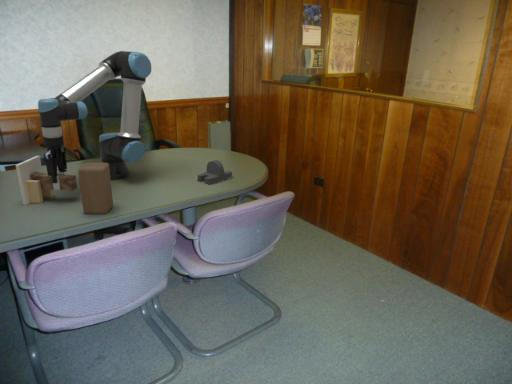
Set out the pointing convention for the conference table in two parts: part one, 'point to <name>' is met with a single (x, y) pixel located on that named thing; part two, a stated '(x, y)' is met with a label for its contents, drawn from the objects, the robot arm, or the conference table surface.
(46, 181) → the rail
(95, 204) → the wooden block
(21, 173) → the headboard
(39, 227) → the conference table surface
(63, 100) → the robot arm
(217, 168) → the bracket
